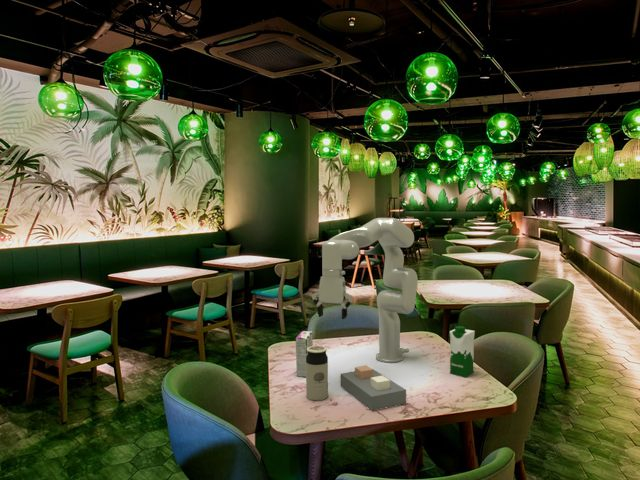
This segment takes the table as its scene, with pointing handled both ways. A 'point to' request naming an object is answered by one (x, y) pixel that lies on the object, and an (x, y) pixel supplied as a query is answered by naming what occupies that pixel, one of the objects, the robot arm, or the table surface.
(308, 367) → the travel mug
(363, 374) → the terracotta key
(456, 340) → the milk carton
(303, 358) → the candy bar box
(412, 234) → the robot arm
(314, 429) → the table surface
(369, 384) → the gray socket board
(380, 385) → the cream cube
